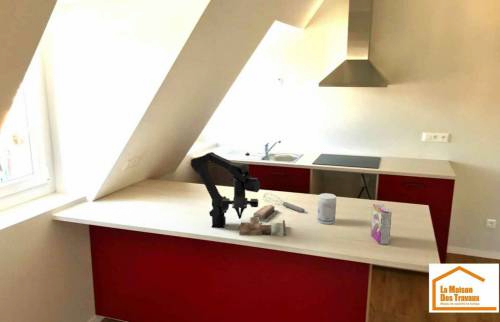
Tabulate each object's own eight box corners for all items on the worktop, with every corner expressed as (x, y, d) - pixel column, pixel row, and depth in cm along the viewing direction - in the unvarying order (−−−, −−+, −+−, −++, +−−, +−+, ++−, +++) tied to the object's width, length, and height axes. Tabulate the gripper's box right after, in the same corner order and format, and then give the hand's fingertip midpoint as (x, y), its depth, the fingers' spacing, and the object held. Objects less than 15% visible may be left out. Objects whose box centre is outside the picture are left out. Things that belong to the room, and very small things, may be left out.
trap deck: (239, 235, 186) (239, 228, 185) (241, 225, 198) (240, 219, 197) (285, 235, 185) (285, 229, 184) (284, 226, 196) (284, 220, 196)
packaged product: (266, 215, 201) (249, 212, 205) (266, 223, 202) (249, 220, 206) (278, 205, 217) (263, 202, 221) (278, 213, 218) (263, 210, 222)
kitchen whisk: (303, 215, 213) (303, 204, 212) (260, 202, 237) (260, 192, 235) (309, 212, 217) (309, 202, 216) (267, 200, 241) (267, 190, 240)
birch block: (250, 228, 189) (250, 220, 188) (250, 225, 193) (250, 217, 192) (258, 228, 189) (258, 220, 188) (259, 225, 193) (259, 217, 192)
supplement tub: (316, 218, 208) (316, 193, 205) (333, 218, 208) (334, 193, 205) (319, 224, 198) (320, 198, 195) (337, 224, 198) (338, 198, 195)
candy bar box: (369, 235, 185) (372, 203, 181) (379, 235, 185) (382, 203, 182) (379, 245, 174) (381, 211, 171) (389, 244, 174) (392, 211, 171)
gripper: (219, 193, 180) (219, 224, 183) (257, 194, 179) (257, 225, 182) (221, 187, 191) (222, 216, 194) (258, 187, 190) (258, 216, 193)
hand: (239, 218), depth 190 cm, fingers closed
